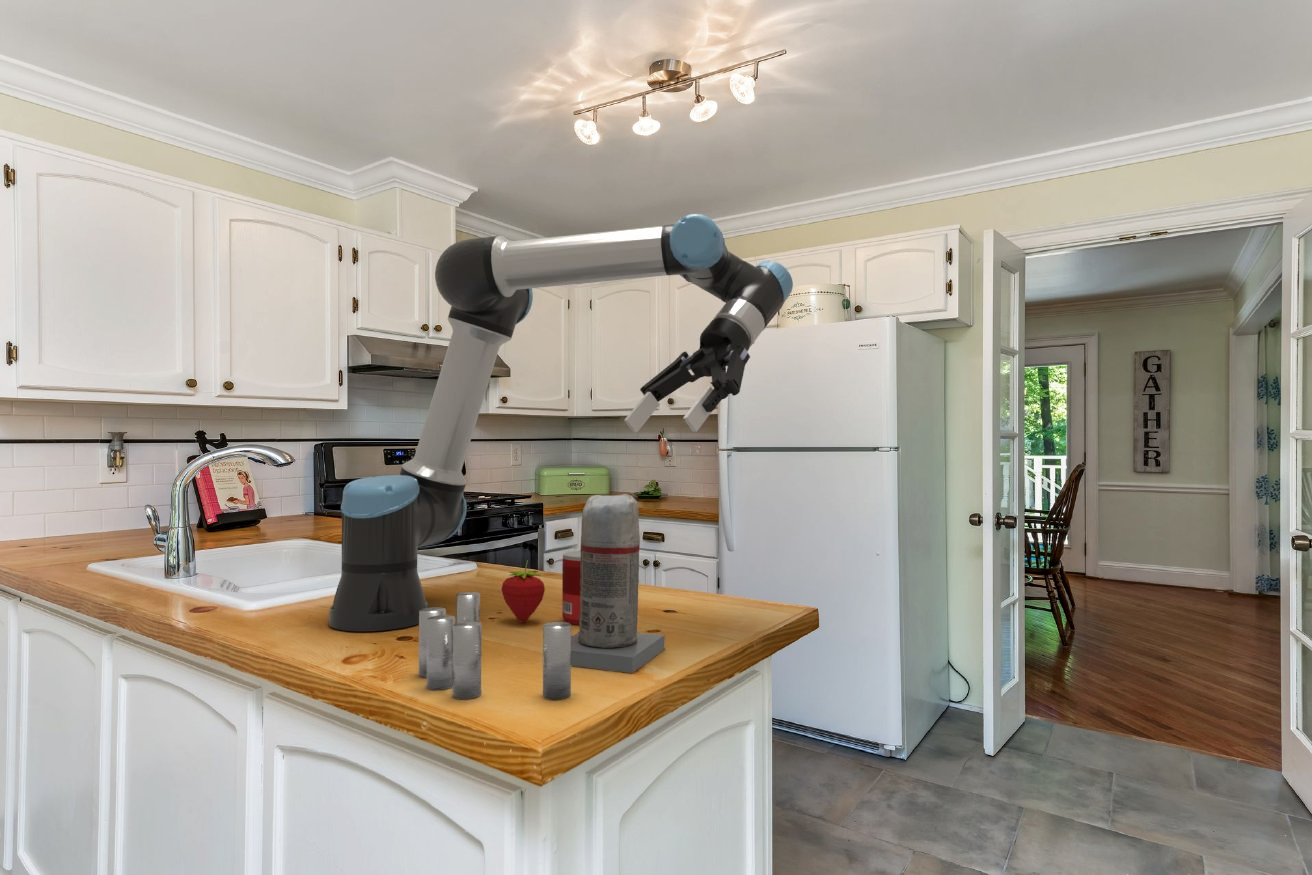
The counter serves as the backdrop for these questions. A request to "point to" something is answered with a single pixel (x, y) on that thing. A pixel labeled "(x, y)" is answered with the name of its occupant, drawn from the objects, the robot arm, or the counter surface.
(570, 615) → the canned food
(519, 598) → the strawberry
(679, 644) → the counter surface
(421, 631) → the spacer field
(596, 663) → the slate board
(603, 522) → the spray can
